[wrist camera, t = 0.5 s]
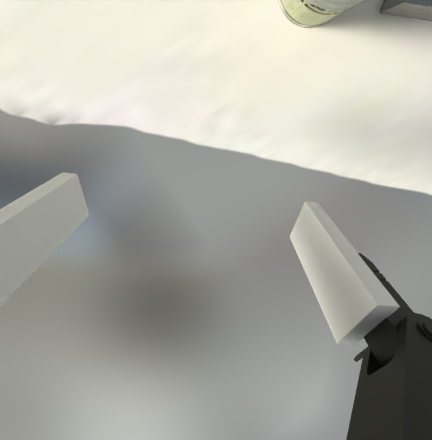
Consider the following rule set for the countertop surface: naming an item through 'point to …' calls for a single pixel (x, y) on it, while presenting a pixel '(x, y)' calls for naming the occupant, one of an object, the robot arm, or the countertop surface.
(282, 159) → the countertop surface
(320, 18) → the coffee can
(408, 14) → the grey u-shaped frame
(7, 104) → the countertop surface
